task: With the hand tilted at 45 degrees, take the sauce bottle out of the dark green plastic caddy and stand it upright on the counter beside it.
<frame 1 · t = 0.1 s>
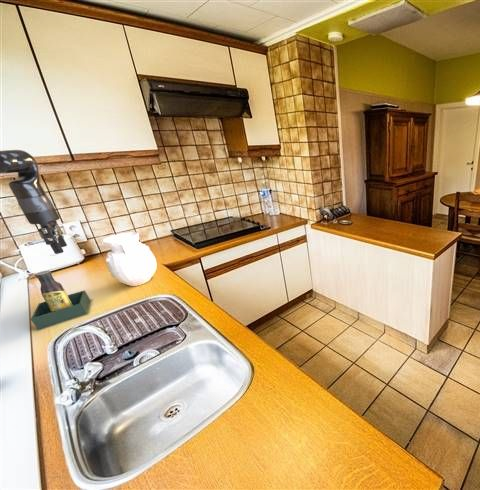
hand: (61, 249, 102), 30 cm above the worktop, tool pointing down, fingers open, 8 cm apart
sauce bottle: (66, 313, 114), resting on caddy
caddy: (66, 313, 114), on the worktop
pitcher: (140, 281, 138), on the worktop
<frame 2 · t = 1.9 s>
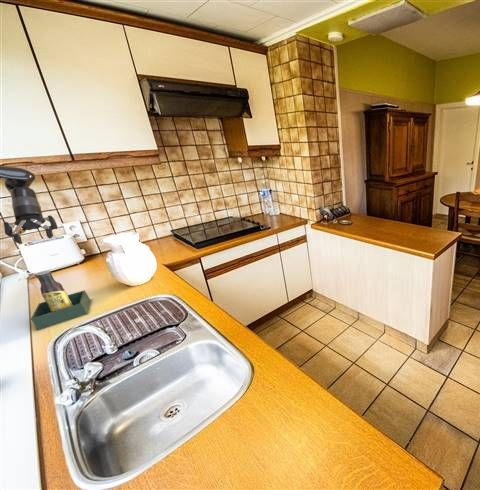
hand: (34, 240, 112), 31 cm above the worktop, tool tilted 45°, fingers open, 8 cm apart
nothing on the worktop moved.
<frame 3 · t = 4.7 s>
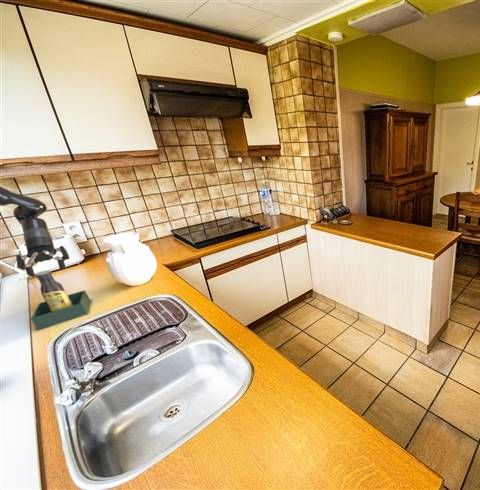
hand: (47, 272, 112), 18 cm above the worktop, tool tilted 45°, fingers open, 8 cm apart
nothing on the worktop moved.
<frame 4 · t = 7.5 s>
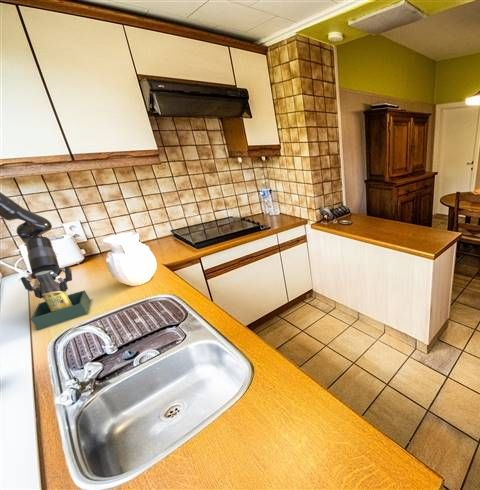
hand: (52, 294, 109), 11 cm above the worktop, tool tilted 45°, fingers closed on sauce bottle, 6 cm apart
sauce bottle: (66, 313, 114), resting on caddy, touching gripper
everything else where it was.
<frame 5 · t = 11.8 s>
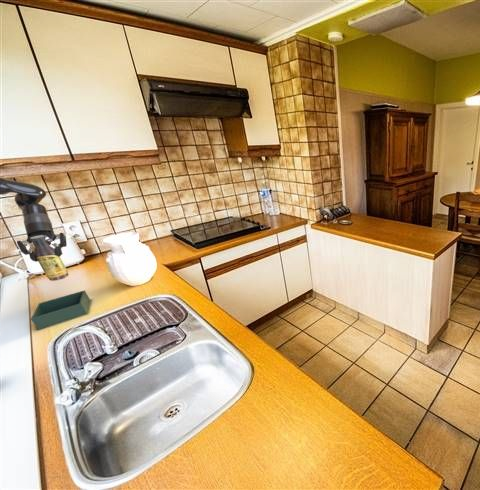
hand: (47, 258, 113), 23 cm above the worktop, tool tilted 45°, fingers closed on sauce bottle, 6 cm apart
sauce bottle: (60, 278, 118), point 12 cm above the worktop, touching gripper
everything else where it was.
when the fingers open (10 cm above the worktop, at t = 16.2 s): sauce bottle stays where it is, on the worktop.
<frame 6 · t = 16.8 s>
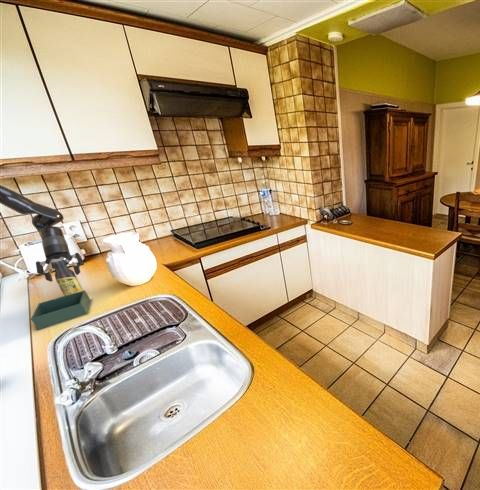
hand: (64, 277, 121), 12 cm above the worktop, tool tilted 45°, fingers open, 8 cm apart
sauce bottle: (77, 297, 126), on the worktop
everything else where it was.
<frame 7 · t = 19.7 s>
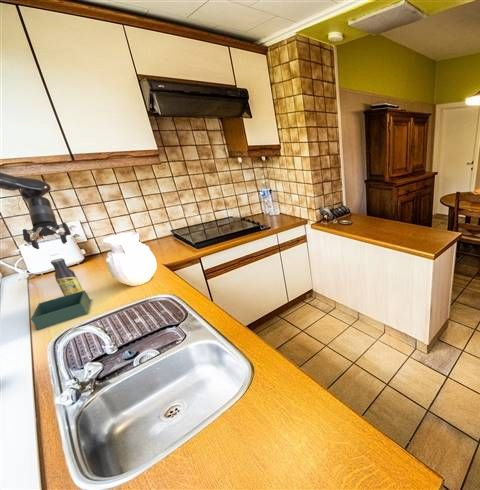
hand: (50, 245, 122), 25 cm above the worktop, tool tilted 45°, fingers open, 8 cm apart
nothing on the worktop moved.
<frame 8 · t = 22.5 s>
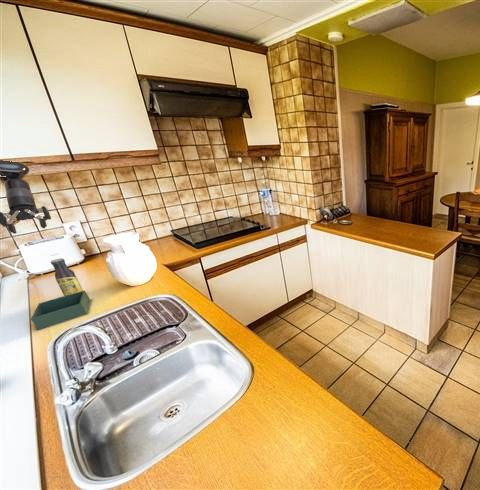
hand: (28, 229, 116), 34 cm above the worktop, tool tilted 45°, fingers open, 8 cm apart
nothing on the worktop moved.
at the end: sauce bottle inside the target area (0.6 cm from its centre), on the worktop; sauce bottle tilted 0°; the gripper is holding nothing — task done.
